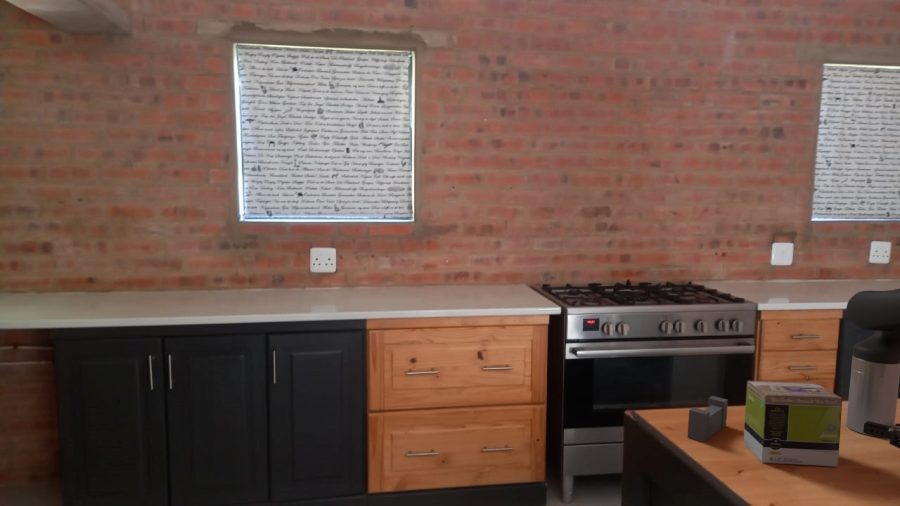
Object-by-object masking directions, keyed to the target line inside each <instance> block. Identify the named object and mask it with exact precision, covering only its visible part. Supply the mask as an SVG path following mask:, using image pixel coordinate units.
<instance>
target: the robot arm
mask: <svg viewBox="0 0 900 506" xmlns="http://www.w3.org/2000/svg"><path fill="white" fill-rule="evenodd" d="M845 309H846V310H845V311H846V316H847V318H848V320H849V321H850V323H852V324H853V325H854V326H855V327H857V328H859V329H861V330H865V331H874V333H873V334H871V335H870V337H868V338H866V339H863V340H861V341H858V342H856V343H855V344H854V345H853V348H852V349H853V350H852V357H851V358H852V359H851V368H850V370H851V371H850V379H849V392H848V401H847V411H846V422H845V423H846V427H847V428H848V429H851V430H852V431H854V432H857V433H860V434H863V435H867V436H871V437H872V436H873V437H877V438H882V439H886V441H887V442H889V445H891V446H893V447H895V448H897V449H900V423H896V416H897V404H898V396H899V387H900V386H899V385H900V288H895V289H891V290H862V291H858V292H856V293H855V294H854V295H852V296H851V297H850V298H849V300H848V302H847V305H846V308H845Z"/></svg>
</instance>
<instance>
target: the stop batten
mask: <svg viewBox="0 0 900 506" xmlns="http://www.w3.org/2000/svg"><path fill="white" fill-rule="evenodd" d="M707 403H708V404H707V407H706V408H705V409H701V408H697V407H695V406H694V407H691V408H689V412H688V421H687V422H688V424H687V438H689V439H692V440H696V441H698V442H701V443H704V442H706V441H708V439H709V438H710V437H712V436H713V435H714V434H716V433H717V432H719V430H721V429H724V428H725V427H727V419H728V417H727V416H728V405H729V399H727V398H722V397H718V396H714V395H711V396H710V397H708V398H707Z"/></svg>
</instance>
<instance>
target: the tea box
mask: <svg viewBox="0 0 900 506" xmlns="http://www.w3.org/2000/svg"><path fill="white" fill-rule="evenodd" d="M745 395H746V396H745V414H744V425H743V427H744V431H743V443H744V445H745V446H746V447H747V448H748V449H749V450H750V451H751V453H752V454H753V455H754V456H755V457H756V458H757V459H758V460H759V461H760V462H761V463H765V464H783V465H785V464H786V465H802V466H804V465H805V466H819V467H820V466H822V467H837V468H838V467H839V457H840V443H841V442H840V440H841V426H842V411H843V410H842V409H843V408H842V407H843V397H841V396H839V395H837V394H835V393H834V392H832V391H830V390H829V389H827V388H825V387H823V386H821V385H820V384H819V383H816V382H794V381H793V382H792V381H791V382H789V381H787V382H786V381H763V380H762V381H761V380H747V381H746V394H745Z"/></svg>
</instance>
